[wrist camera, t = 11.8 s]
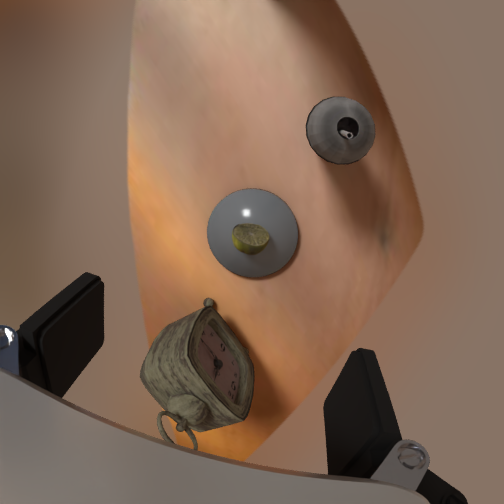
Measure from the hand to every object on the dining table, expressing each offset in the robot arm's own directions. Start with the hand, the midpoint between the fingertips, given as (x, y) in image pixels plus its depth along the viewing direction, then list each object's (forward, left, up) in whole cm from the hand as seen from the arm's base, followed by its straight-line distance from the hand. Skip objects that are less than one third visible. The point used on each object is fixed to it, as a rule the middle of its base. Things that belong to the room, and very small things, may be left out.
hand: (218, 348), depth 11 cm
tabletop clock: (+21, -14, -36) cm, 43 cm away
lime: (+5, -3, -35) cm, 35 cm away
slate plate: (+5, -4, -36) cm, 36 cm away
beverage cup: (-7, +9, -36) cm, 38 cm away
